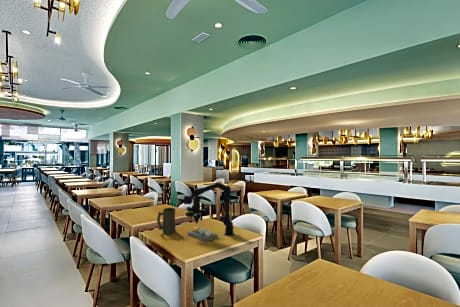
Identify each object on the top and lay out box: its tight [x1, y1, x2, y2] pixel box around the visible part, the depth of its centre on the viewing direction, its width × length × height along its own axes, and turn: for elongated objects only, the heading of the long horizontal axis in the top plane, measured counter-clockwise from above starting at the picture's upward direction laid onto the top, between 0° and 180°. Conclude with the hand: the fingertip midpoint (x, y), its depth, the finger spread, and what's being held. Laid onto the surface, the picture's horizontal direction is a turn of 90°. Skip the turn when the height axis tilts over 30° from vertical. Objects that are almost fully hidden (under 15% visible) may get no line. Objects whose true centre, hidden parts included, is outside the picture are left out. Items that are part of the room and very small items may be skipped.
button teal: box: [199, 228, 206, 235], centre depth 199 cm, size 5×5×4 cm
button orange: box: [193, 226, 201, 233], centre depth 203 cm, size 5×5×4 cm
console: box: [187, 229, 218, 242], centre depth 198 cm, size 12×22×2 cm, turn 47°
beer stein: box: [156, 207, 177, 235], centre depth 208 cm, size 15×11×20 cm
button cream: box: [205, 229, 212, 237], centre depth 194 cm, size 5×5×4 cm
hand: (196, 223), depth 203 cm, fingers closed
